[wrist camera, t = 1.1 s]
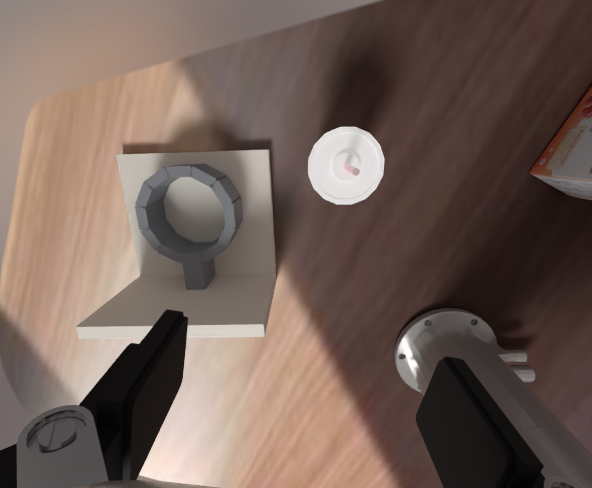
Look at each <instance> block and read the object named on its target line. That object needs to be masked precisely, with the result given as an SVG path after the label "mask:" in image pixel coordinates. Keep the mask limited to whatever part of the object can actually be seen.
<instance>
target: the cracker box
mask: <svg viewBox="0 0 592 488" xmlns="http://www.w3.org/2000/svg"><path fill="white" fill-rule="evenodd" d="M529 173H530V174H531V175H533V176H535V177H537V178H538V179H540V180H542V181H544V182H546V183H547V184H549V185H551V186H553V187H555V188H556V189H558V190H560V191H562V192H563V193H565V194H567V195H569V196H572V197H576V198H581V199H587V200H592V86H591V87H590V89H589V90H588V92H587V93H586V94H585V96H584V97H583V99H582V100H581V101H580V103H579V104H578V105H577V107H576V108H575V110H574V111H573V112H572V114H571V115H570V116H569V118H568V119H567V121H566V122H565V123H564V125H563V126H562V128H561V129H560V130H559V132H558V133H557V134H556V136H555V137H554V138H553V140H552V141H551V143H550V144H549V145H548V147H547V148H546V149H545V151H544V152H543V154H542V155H541V156H540V158H539V159H538V161H537V162H536V163H535V165H534V166H533V167H532V169H531V170H530V172H529Z"/></svg>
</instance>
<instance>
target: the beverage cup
mask: <svg viewBox="0 0 592 488" xmlns="http://www.w3.org/2000/svg"><path fill="white" fill-rule="evenodd" d="M383 171H384V156H383V153H382V150H381V147H380V144H379V143H378V142H377V141H376V140H375V139H374V138H373V136H372V135H371V134H370V133H368V132H366V131H364V130H362V129H359V128H357V127H339V128H336V129H334V130H332V131H329V132H327V133H325V134H324V135H323V136H322V137H321V138H320V139H319V140H318V141H317V142H316V143H315V144H314V147H313V149H312V151H311V154H310V156H309V159H308V175H309V178H310V180H311V183H312V186H313V188H314V189H315V190H316V191H317V192H318V193H319V194H320V195H321V197H322V198H323V199H325V200H328V201H330V202H332V203H335V204H354V203H356V202H359V201H361V200H364V199H366V198H367V197H368V196H369V195H370V194H371V193H372V192H373V191H374V190H375V189H376V188H377V186H378V184H379V182H380V180H381V178H382V176H383Z"/></svg>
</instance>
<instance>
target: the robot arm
mask: <svg viewBox="0 0 592 488" xmlns="http://www.w3.org/2000/svg"><path fill="white" fill-rule="evenodd" d="M187 328H188V317H185V316H184V314H183V312H181V311H175V310H169V309H166V310H165V311H164V313H163V314H162V315H161V317H160V318H159V319H158V320H157V322H156V323H155V324H154V326H153V327H152V328H151V330H150V331H149V332H148V333H147V335H146V336H145V337H144V339H143V340H142V341H141V342H140V344H135V343H131V344H129V345H128V346H127V347H126V349H125V350H124V351H123V352H122V353H121V355H120V356H119V357H118V358H117V359H116V361H115V362H114V363H113V364H112V366H111V367H110V368H109V369H108V370H107V372H106V373H105V374H104V375H103V377H102V378H101V379H100V380H99V381H98V383H97V384H96V385H95V386H94V387H93V389H92V390H91V391H90V392H89V394H88V395H87V396H86V397H85V398H84V400H83V401H82V402H81V403H80V404H79V406H78V405H66V406H61V407H57V408H54V409H51V410H49V411H47V412H44V413H42V414H41V415H39V416H38V417H36V418H35V419H33V420H32V421H31V422H30V423H29V424H28V425H27V426H26V427H25V428H24V429H23V431H22V432H21V434H20V435H19V437H18V442H17V444H15V445H12V446H10V447H8V448H5V449H3V450H0V488H218V487H209V486H200V485H191V484H182V483H173V482H162V481H145V480H136V479H137V477H138V475H139V473H140V471H141V469H142V467H143V464H144V462H145V460H146V458H147V456H148V454H149V452H150V450H151V448H152V445H153V443H154V441H155V439H156V437H157V435H158V433H159V431H160V428H161V426H162V424H163V422H164V420H165V418H166V416H167V414H168V412H169V409H170V407H171V405H172V403H173V401H174V399H175V397H176V395H177V393H178V390H179V388H180V386H181V383H182V379H183V370H184V359H185V349H186V338H187ZM526 360H527V355H526V353H525V351H524V350H504V349H503V348H501V347H500V346H499V345H498V344H497V340H496V336H495V334H494V332H493V330H492V329H491V328H490V326H489V325H488V324H487V323H486V322H485V321H484V320H483V319H482V318H480V317H479V316H477V315H476V314H474V313H472V312H469V311H467V310H464V309H458V308H442V309H437V310H433V311H430V312H427V313H424V314H422V315H421V316H419V317H417V318H415V319H414V320H413V321H412V322H410V323H409V324H408V325H407V326H406V327H405V328H404V329H403V331H402V332H401V334H400V335H399V337H398V339H397V342H396V344H395V349H394V361H395V364H396V367H397V370H398V372H399V374H400V376H401V378H402V379H403V380H404V381H405V383H407V384H408V385H409V386H410V387H411V388H413V389H415V390H417V391H419V392H422V394H423V396H424V397H423V399H422V402H421V404H420V407H419V409H418V411H417V414H416V422H417V425H418V428H419V430H420V432H421V435H422V437H423V440H424V442H425V444H426V447H427V449H428V451H429V454H430V456H431V458H432V461H433V463H434V466H435V468H436V470H437V473H438V475H439V477H440V480H441V482H442V484H443V487H444V488H592V454H591V453H590V452H589V451H588V450H587V449H586V448H585V447H584V445H583V444H582V443H581V442H580V441H579V440H578V439H577V438H576V437H575V436H574V435H573V434H572V433H571V432H570V431H569V430H568V429H567V428H566V426H565V425H564V424H563V423H562V422H561V421H560V420H559V419H558V418H557V417H556V416H555V415H554V414H553V413H552V412H551V410H550V409H549V408H548V407H547V406H546V405H545V404H544V403H543V402H542V401H541V400H540V399H539V398H538V397H537V396H536V394H535V393H534V392H533V391H532V390H531V389H530V388H529V387H528V386H527V385H526V384H525V383H524V382H532V381H534V379H535V373H534V370H533V369H532V367H531V366H529V365H511V366H508V365H507V361H513V362H525V361H526Z"/></svg>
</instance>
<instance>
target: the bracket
mask: <svg viewBox="0 0 592 488" xmlns="http://www.w3.org/2000/svg"><path fill="white" fill-rule="evenodd" d="M116 157H117V162H118V167H119V172H120V177H121V182H122V187H123V192H124V197H125V202H126V207H127V212H128V217H129V222H130V227H131V232H132V237H133V242H134V247H135V252H136V257H137V262H138V267H139V272H140V277H138V278H137V279H136V280H135V281H133V282H132V283H131V284H130V285H128V286H127V287H126V288H125V289H123V290H122V291H121V292H119V293H118V294H117V295H116V296H114V297H113V298H112V299H111V300H109V301H108V302H107V303H106V304H104V305H103V306H102V307H100V308H99V309H98V310H97V311H95V312H94V313H93V314H92V315H90V316H89V317H88V318H87V319H85V320H84V321H83V322H81V323H80V324H79V325H78V326H76V330H77V333H78V337H79V339H134V338H144V337H145V336H146V335H147V333H148V332H149V331H150V330H151V328H152V327H153V326H154V324H155V323H156V322H157V320H158V319H159V318H160V317H161V315H162V314H163V313H164V311H165V310H166V309H169V310H175V311H181V312H183V314H184V316H185V317H188V328H187V338H208V337H265V332H266V327H267V323H268V318H269V313H270V308H271V303H272V298H273V294H274V289H275V284H276V279H277V277H276V259H275V241H274V223H273V205H272V187H271V168H270V150H239V151H209V152H179V153H149V154H119V155H116Z"/></svg>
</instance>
